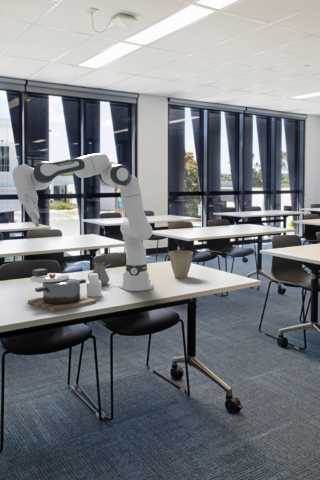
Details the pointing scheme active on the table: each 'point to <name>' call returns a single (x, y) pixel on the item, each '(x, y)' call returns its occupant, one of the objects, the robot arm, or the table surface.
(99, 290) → the medicine bottle
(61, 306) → the trivet
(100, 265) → the coffee pot
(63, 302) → the cooker pot
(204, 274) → the table surface
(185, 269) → the plant pot
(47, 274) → the lid
